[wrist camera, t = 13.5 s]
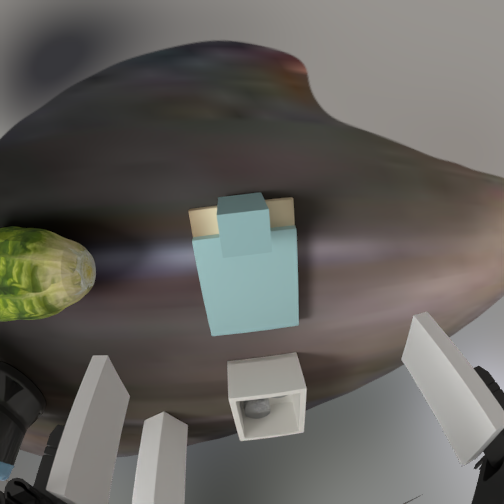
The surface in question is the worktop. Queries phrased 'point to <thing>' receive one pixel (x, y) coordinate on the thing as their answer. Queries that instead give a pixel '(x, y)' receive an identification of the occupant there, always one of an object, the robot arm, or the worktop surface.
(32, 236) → the lettuce
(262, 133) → the worktop surface
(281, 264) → the lid
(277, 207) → the board
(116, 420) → the robot arm
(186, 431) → the milk
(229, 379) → the tub
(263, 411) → the part
